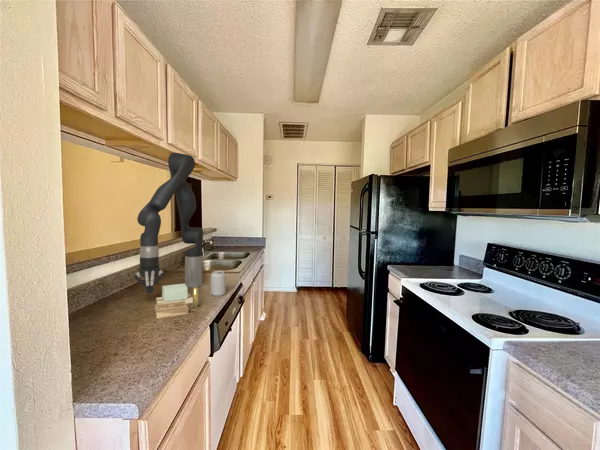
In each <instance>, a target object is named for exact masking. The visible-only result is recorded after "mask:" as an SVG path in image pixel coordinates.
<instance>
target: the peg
mask: <svg viewBox="0 0 600 450" xmlns="http://www.w3.org/2000/svg"><path fill="white" fill-rule="evenodd" d="M192 298H193V303H192V309H198V308H199V287H192Z"/></svg>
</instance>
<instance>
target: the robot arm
mask: <svg viewBox="0 0 600 450" xmlns="http://www.w3.org/2000/svg"><path fill="white" fill-rule="evenodd" d="M195 160H196V159H195V158H194V157H193V156H192V155H190V154H186V153H181V152H172V153H170V154H169V156H168V160H167V164H168V169H169V173H170V176H171V178H170V179H168V180H167V181H165V182H164V183H163V184H161V185H159V187H158V188H157V189H156V191H155V192H154V194H153V195H152V197H151V199H150V201H148V202H147V203H146V204H145V206H144V207H142V209H141V210H140V212H139V213H138V214H137V218H136V219H137V223H138V225H140V226H142V227H144V230H143V231H144V232H142V233H141V234H140V237H139V239H140V241H139V243H140V247H139V267H138V268H139V269H138V271H137V272H136V273H134V274H133V278H134V279H135V281H137V282H138V283H140V284H141V286H145V292H146V294H147V295H152V293H153V292H154V285H156V284H158V283H159V282H160V281H161V279H162V278H163V277H164V276H165V275H166V274H165V271H163V270H161V268H160V266H159V265H160V264H159V263H160V261H159V260H160V252H159V250H160V249H159V234H160V230H161V226H162V225H161V224H162V218H161V215H160V214H159V212H162V211H163V210H165V209H166V208H167V207H168V205H169V204H170V201H171V200H172V198H173V196H174V195H175V199H176V205H177V211H178V215H179V220H180V221H179V222H180V233H181V234H180V235H181V239H182V242H183V243H184V244H187V245H188V244H190V245H193V244H194V245H195V246H194V247H193V248H189V249H187V250H185V251H184V283H185V285H186V286H187V288H194V287H198V288H199V287H202V286H203V245H204V244H203V243H204V230H203V229H202V227H191V226H189V222H190V220H191V218H192V216H193V215H194V213H195V211H196V209H197V202H196V196H195V193H194V191H193V189H192V188H191V186H190V184H188V181H187V179H188V177H189V176H191V174H192V173H193V171H194V169H195V167H196V161H195ZM157 275H158V276H157ZM140 276H142V277H143V278H144V279H145V281H144V280H143V279H142V278H141V277H140ZM156 276H157V277H156Z"/></svg>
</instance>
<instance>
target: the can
mask: <svg viewBox="0 0 600 450" xmlns="http://www.w3.org/2000/svg"><path fill="white" fill-rule="evenodd" d="M226 275H227V274H226V273H225V271H223V270H214V271H212V272H211V274H210V294H211V295H212V296H213V297H221V296H223V295H225V294H226V292H227V290H226V289H227V288H226V287H227V285H226V284H227V283H226V280H227V278H226V277H227V276H226Z"/></svg>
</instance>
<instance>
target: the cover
mask: <svg viewBox="0 0 600 450" xmlns="http://www.w3.org/2000/svg"><path fill="white" fill-rule="evenodd" d="M188 288H189V287H187V286H186V285H185V282H184V283H176V284H175V283H174V284H166V285H162V286H161V297H164V302H167V301H174V300H182V299H187V295H188V294H189V293H188V291H189V290H188Z"/></svg>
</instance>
